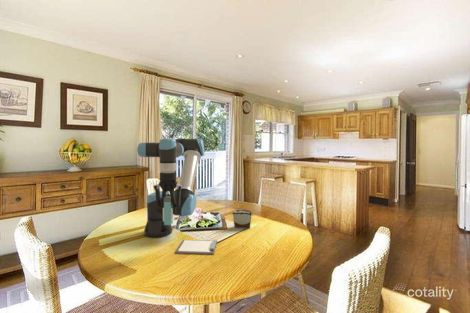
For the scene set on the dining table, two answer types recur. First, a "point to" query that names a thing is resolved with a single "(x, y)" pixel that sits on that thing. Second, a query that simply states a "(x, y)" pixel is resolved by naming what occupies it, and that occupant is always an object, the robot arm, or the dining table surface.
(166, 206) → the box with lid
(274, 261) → the dining table surface
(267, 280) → the dining table surface
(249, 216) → the food container
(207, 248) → the clipboard
